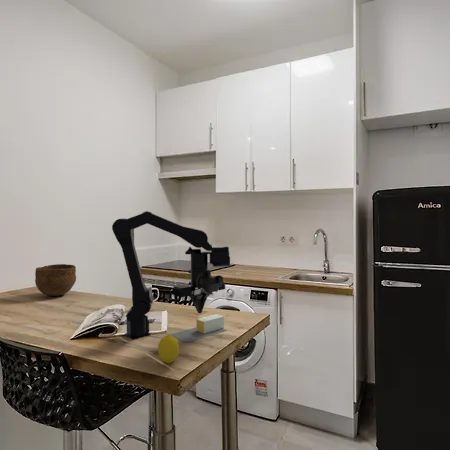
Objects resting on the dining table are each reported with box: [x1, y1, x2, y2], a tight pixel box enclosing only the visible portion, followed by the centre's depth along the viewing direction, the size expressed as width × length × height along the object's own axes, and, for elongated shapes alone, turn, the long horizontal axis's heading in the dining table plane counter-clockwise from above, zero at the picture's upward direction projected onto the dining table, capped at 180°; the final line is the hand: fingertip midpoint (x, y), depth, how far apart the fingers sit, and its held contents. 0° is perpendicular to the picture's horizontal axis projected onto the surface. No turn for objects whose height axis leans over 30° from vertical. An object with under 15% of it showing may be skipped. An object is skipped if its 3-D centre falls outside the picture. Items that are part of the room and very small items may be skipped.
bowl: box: [34, 263, 77, 297], centre depth 175 cm, size 19×19×15 cm
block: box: [195, 313, 225, 334], centre depth 120 cm, size 4×4×9 cm
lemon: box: [157, 333, 180, 365], centre depth 93 cm, size 6×6×8 cm
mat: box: [169, 326, 228, 344], centre depth 117 cm, size 17×10×1 cm, turn 131°
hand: (199, 313), depth 117 cm, fingers closed
